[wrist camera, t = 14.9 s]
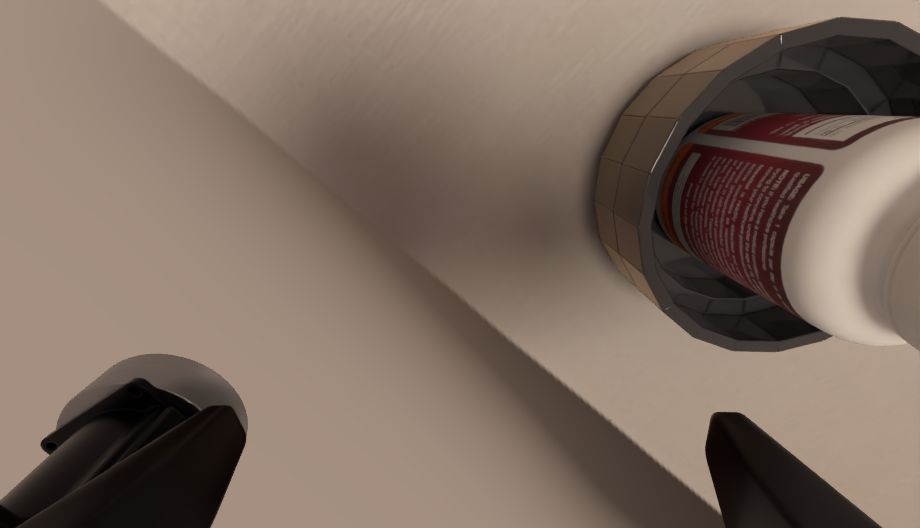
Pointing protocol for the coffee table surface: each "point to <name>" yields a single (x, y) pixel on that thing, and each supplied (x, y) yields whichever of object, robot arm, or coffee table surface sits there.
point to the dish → (729, 92)
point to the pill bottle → (807, 215)
